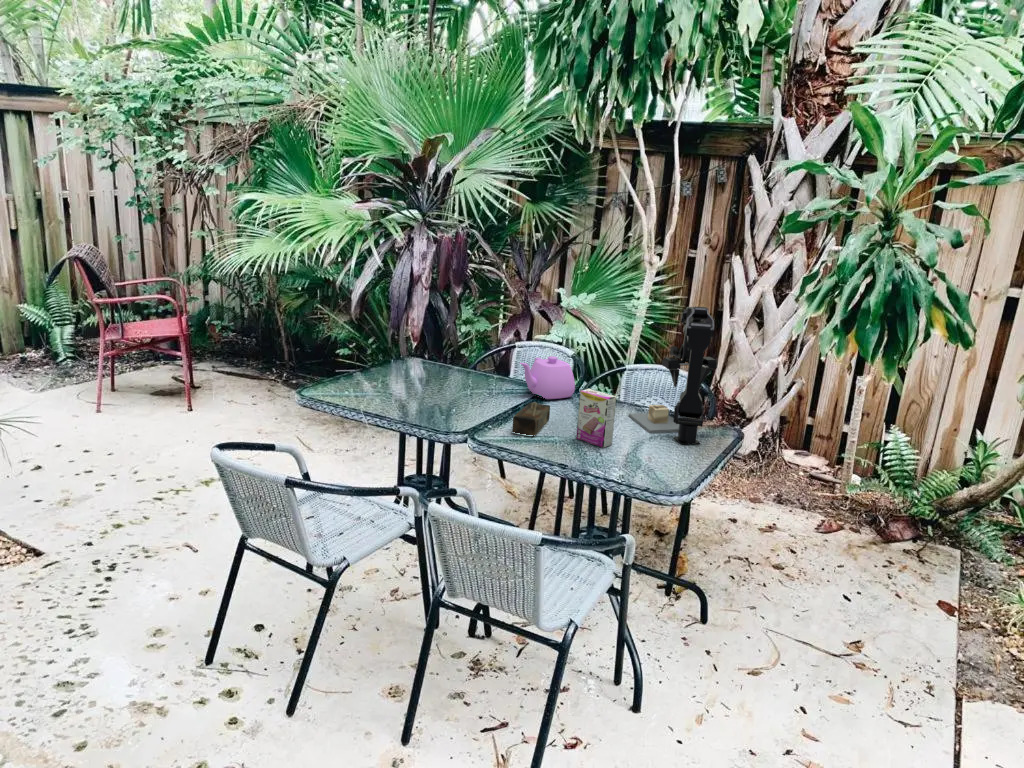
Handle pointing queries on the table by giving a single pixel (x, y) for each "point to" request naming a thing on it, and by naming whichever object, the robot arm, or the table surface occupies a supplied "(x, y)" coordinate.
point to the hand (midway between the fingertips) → (687, 386)
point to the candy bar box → (596, 417)
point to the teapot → (550, 378)
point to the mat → (654, 428)
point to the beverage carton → (531, 419)
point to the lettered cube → (658, 414)
